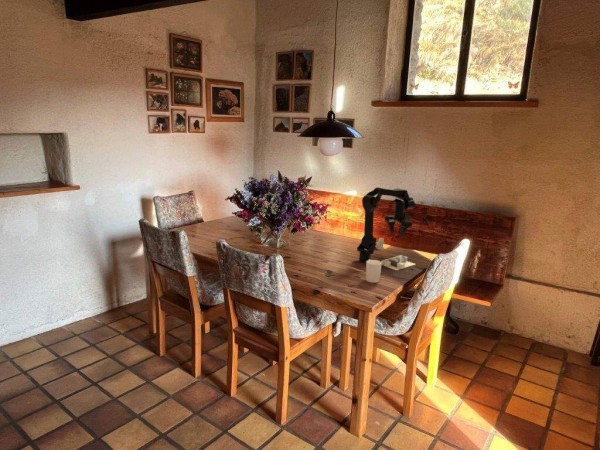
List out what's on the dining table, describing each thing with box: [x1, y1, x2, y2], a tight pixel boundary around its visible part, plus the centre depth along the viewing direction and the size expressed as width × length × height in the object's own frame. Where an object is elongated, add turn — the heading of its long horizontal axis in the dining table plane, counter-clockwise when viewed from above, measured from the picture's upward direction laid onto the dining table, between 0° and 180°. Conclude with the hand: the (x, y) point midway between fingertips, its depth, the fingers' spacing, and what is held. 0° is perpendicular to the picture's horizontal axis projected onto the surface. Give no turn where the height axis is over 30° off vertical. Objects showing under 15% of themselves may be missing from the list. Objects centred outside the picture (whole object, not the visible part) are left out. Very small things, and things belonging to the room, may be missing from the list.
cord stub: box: [389, 260, 406, 270], centre depth 242 cm, size 3×10×3 cm, turn 39°
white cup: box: [365, 259, 383, 284], centre depth 221 cm, size 8×8×10 cm
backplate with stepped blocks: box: [380, 254, 416, 271], centre depth 246 cm, size 18×11×4 cm, turn 129°
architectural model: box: [375, 237, 385, 251], centre depth 279 cm, size 3×7×7 cm, turn 143°
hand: (397, 234), depth 261 cm, fingers open, 9 cm apart
